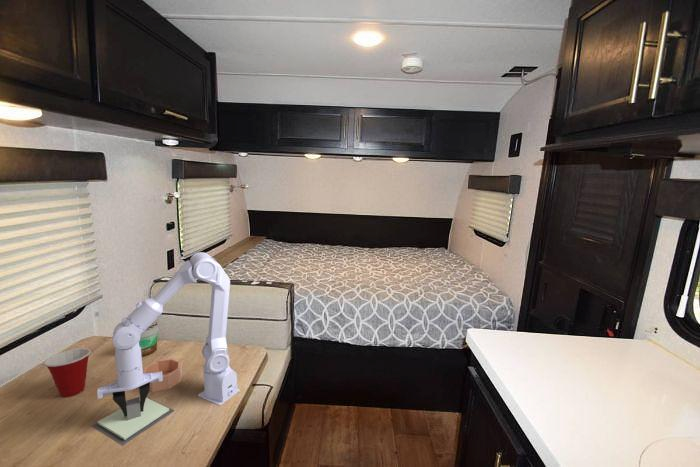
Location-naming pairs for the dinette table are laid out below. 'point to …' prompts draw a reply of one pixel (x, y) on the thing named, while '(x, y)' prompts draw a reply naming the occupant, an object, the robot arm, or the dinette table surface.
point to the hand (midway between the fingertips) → (134, 411)
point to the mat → (122, 441)
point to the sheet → (134, 423)
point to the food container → (149, 340)
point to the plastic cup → (69, 370)
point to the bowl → (165, 373)
